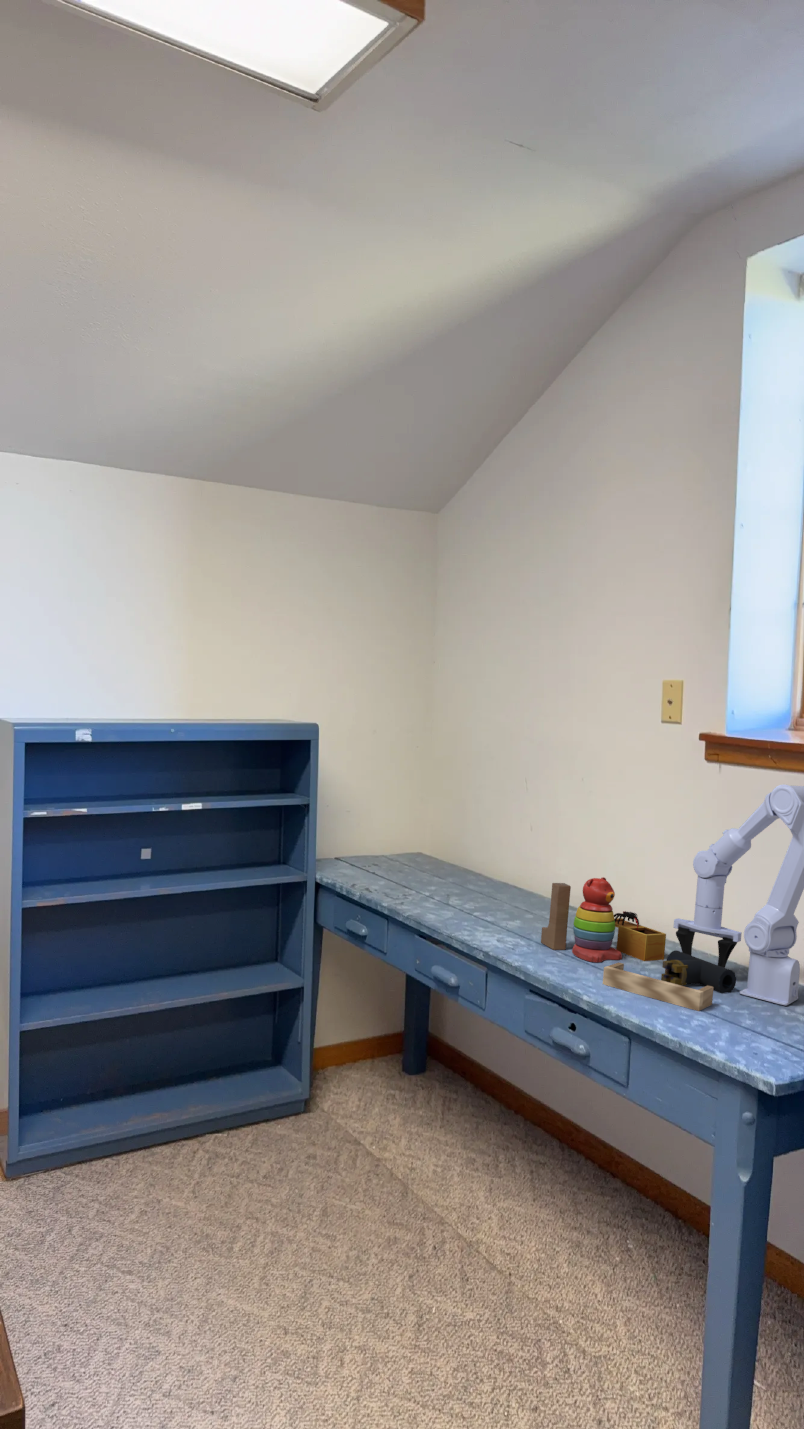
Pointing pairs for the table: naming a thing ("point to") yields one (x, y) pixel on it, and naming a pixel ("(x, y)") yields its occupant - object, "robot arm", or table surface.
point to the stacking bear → (595, 923)
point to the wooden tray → (657, 988)
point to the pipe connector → (697, 972)
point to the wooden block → (557, 918)
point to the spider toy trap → (639, 939)
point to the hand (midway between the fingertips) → (703, 967)
